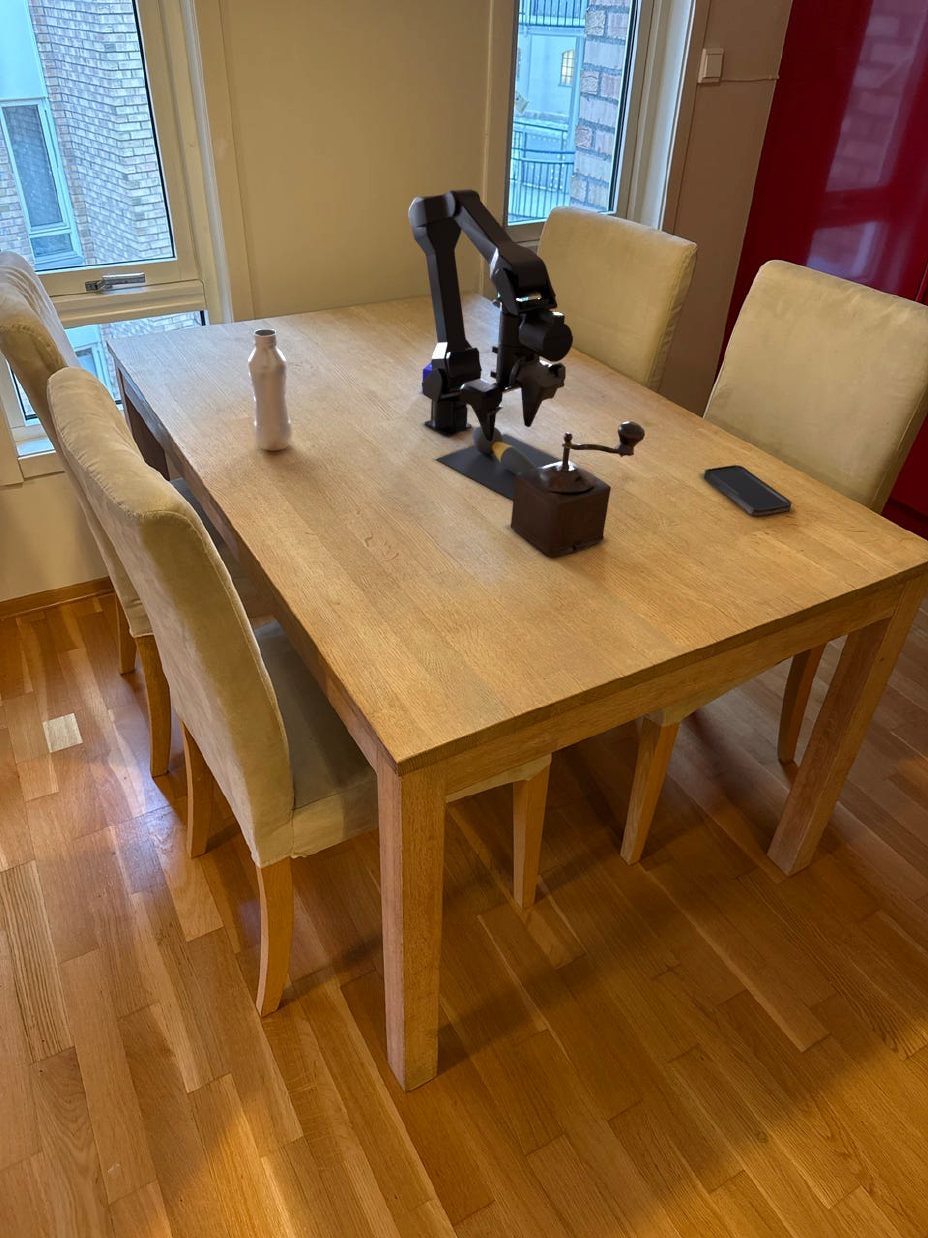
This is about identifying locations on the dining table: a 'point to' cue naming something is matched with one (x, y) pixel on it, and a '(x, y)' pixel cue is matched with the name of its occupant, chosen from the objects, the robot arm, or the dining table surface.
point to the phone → (747, 490)
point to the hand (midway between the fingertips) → (508, 433)
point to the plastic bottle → (269, 392)
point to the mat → (494, 465)
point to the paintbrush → (502, 451)
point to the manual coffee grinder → (566, 499)
